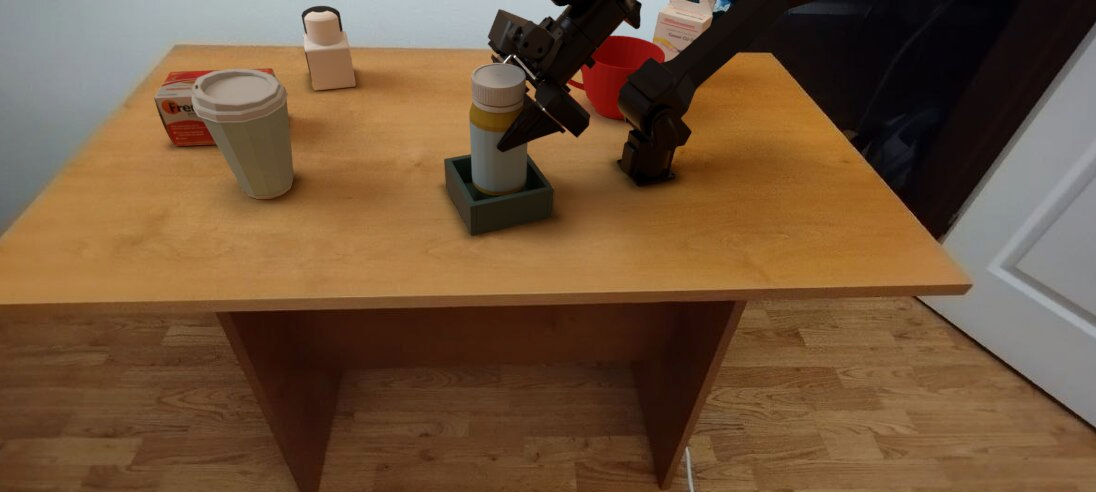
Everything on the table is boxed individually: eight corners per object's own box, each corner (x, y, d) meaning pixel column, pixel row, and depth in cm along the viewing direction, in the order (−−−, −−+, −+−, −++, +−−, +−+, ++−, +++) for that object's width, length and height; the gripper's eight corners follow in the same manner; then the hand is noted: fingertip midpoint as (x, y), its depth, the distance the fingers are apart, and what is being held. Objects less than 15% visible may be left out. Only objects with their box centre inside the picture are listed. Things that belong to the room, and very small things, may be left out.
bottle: (536, 180, 76) (541, 72, 66) (503, 206, 72) (503, 96, 62) (495, 161, 79) (493, 55, 68) (461, 185, 75) (454, 77, 64)
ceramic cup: (555, 87, 103) (559, 30, 96) (650, 95, 102) (661, 38, 95) (551, 123, 93) (555, 63, 86) (656, 131, 92) (669, 71, 86)
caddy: (520, 172, 83) (521, 144, 80) (552, 217, 75) (554, 189, 72) (445, 186, 79) (443, 158, 76) (470, 235, 72) (470, 206, 69)
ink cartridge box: (644, 76, 108) (660, -8, 98) (654, 67, 111) (671, -15, 101) (688, 88, 104) (709, 3, 94) (697, 78, 108) (718, -5, 98)
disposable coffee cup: (305, 160, 83) (279, 57, 73) (314, 202, 76) (287, 95, 65) (226, 172, 80) (187, 68, 70) (227, 218, 73) (184, 109, 62)
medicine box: (172, 147, 84) (150, 96, 78) (186, 120, 90) (166, 70, 84) (280, 142, 86) (266, 92, 81) (287, 116, 92) (275, 67, 86)
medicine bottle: (311, 73, 103) (296, 3, 95) (352, 69, 105) (340, 0, 97) (313, 91, 98) (297, 19, 90) (356, 87, 100) (344, 16, 92)
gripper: (503, -42, 66) (418, 64, 71) (573, 14, 54) (465, 139, 58) (560, 20, 74) (481, 113, 78) (634, 82, 61) (534, 188, 66)
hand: (488, 135), depth 70 cm, fingers closed on bottle, 7 cm apart
